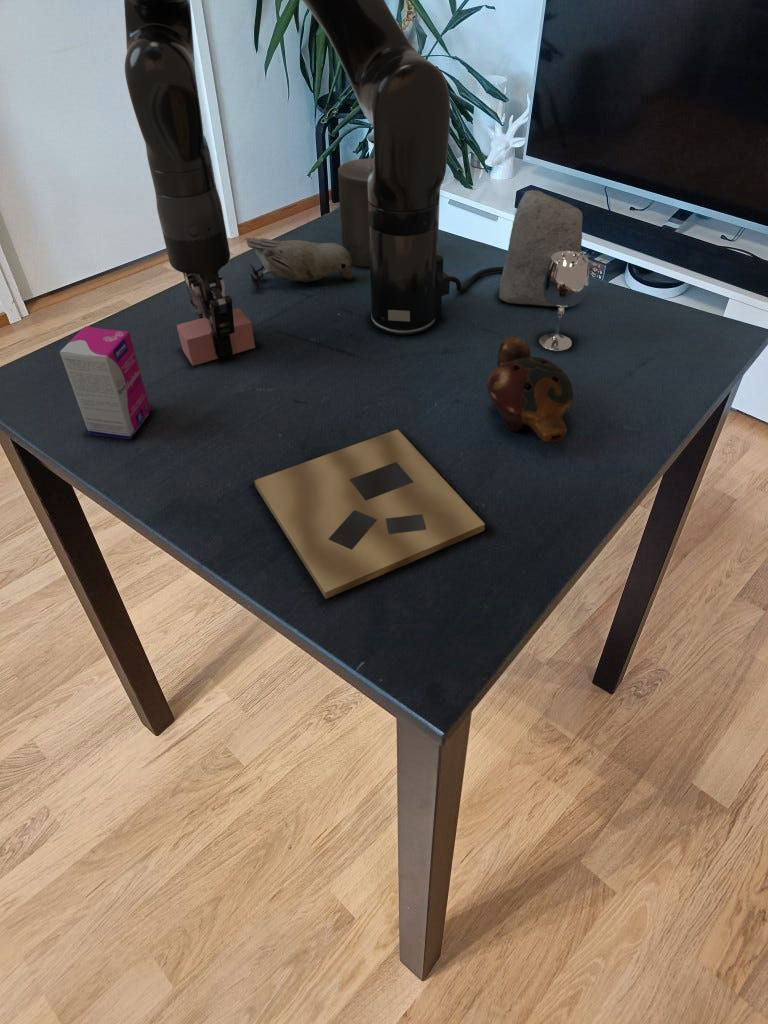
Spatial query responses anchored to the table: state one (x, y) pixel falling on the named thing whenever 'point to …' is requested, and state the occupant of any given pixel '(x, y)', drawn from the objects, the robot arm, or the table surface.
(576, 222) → the decorative stone
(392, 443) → the board
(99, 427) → the supplement box
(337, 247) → the decorative bird
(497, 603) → the table surface
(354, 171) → the pillar candle
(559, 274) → the wineglass
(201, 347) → the eraser
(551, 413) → the brown ceramic rounded figure
